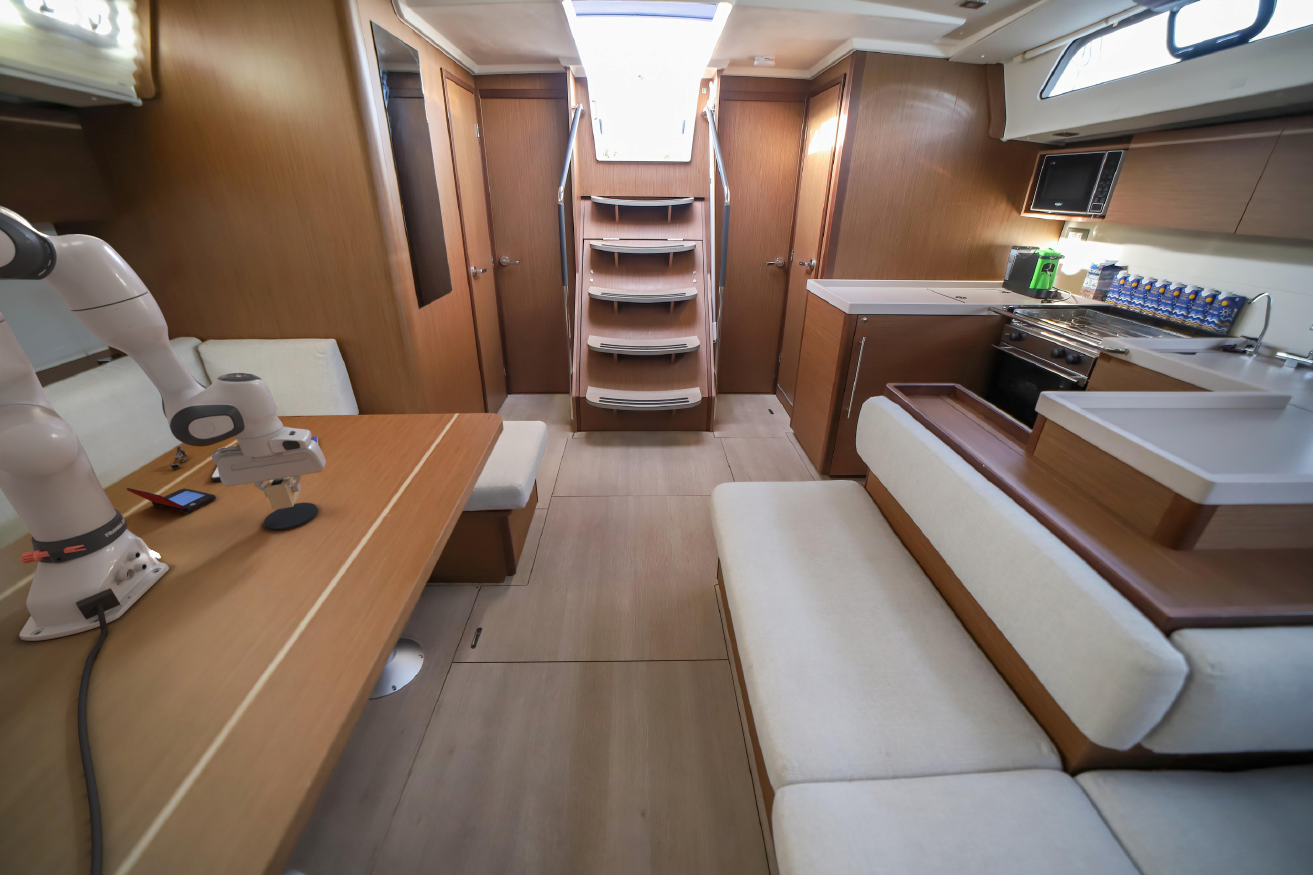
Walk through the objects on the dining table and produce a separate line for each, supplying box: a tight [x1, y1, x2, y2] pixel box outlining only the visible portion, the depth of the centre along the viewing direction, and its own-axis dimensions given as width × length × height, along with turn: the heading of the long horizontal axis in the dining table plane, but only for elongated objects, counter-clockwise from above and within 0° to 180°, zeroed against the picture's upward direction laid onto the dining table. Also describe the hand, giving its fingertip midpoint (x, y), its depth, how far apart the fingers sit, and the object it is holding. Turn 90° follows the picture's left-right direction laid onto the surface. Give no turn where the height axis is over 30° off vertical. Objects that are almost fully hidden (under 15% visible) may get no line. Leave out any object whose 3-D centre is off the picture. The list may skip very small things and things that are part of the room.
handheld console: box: [126, 487, 217, 514], centre depth 126 cm, size 12×11×7 cm
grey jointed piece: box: [169, 444, 189, 470], centre depth 147 cm, size 2×8×4 cm, turn 22°
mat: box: [263, 502, 319, 532], centre depth 123 cm, size 11×11×1 cm
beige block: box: [265, 477, 301, 511], centre depth 120 cm, size 4×8×6 cm, turn 21°
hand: (284, 492), depth 120 cm, fingers closed on beige block, 4 cm apart
